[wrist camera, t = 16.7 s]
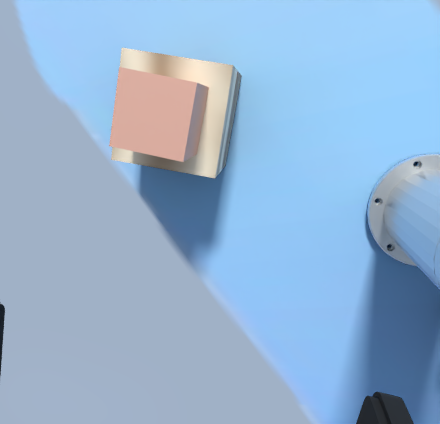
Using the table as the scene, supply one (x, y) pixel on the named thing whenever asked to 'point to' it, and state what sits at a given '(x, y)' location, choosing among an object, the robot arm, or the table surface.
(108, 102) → the table surface
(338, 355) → the table surface
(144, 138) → the terracotta cube
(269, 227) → the table surface
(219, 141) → the maple top block
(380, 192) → the robot arm
